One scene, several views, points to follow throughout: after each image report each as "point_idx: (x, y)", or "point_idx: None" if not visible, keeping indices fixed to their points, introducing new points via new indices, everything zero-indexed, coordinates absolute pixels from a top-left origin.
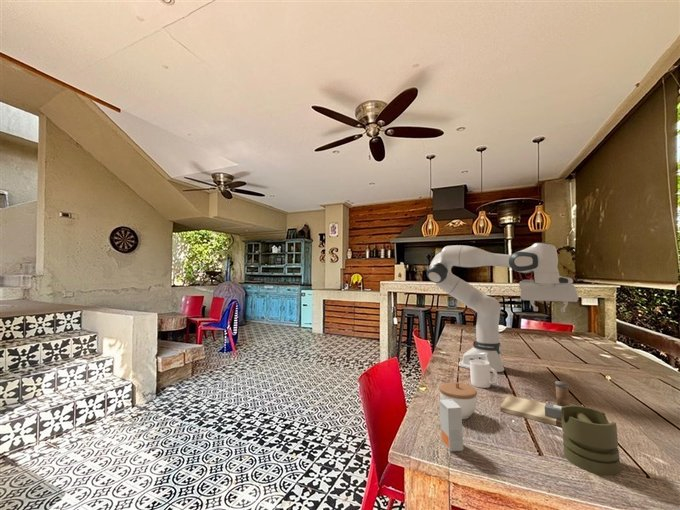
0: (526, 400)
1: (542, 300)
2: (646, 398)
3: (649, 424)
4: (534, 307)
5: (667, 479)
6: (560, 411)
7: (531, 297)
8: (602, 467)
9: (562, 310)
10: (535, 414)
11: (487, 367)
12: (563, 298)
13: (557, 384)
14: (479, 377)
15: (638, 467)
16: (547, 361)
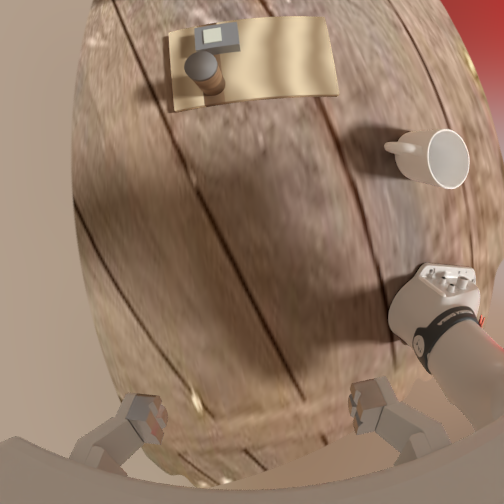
0: (294, 86)
1: (317, 485)
2: (121, 320)
3: (94, 171)
4: (388, 400)
5: (95, 5)
6: (206, 27)
7: (460, 473)
8: None
9: (137, 403)
10: (255, 23)
11: (423, 143)
12: (68, 486)
13: (209, 53)
14: (422, 130)
15: (116, 2)
16: (306, 429)
